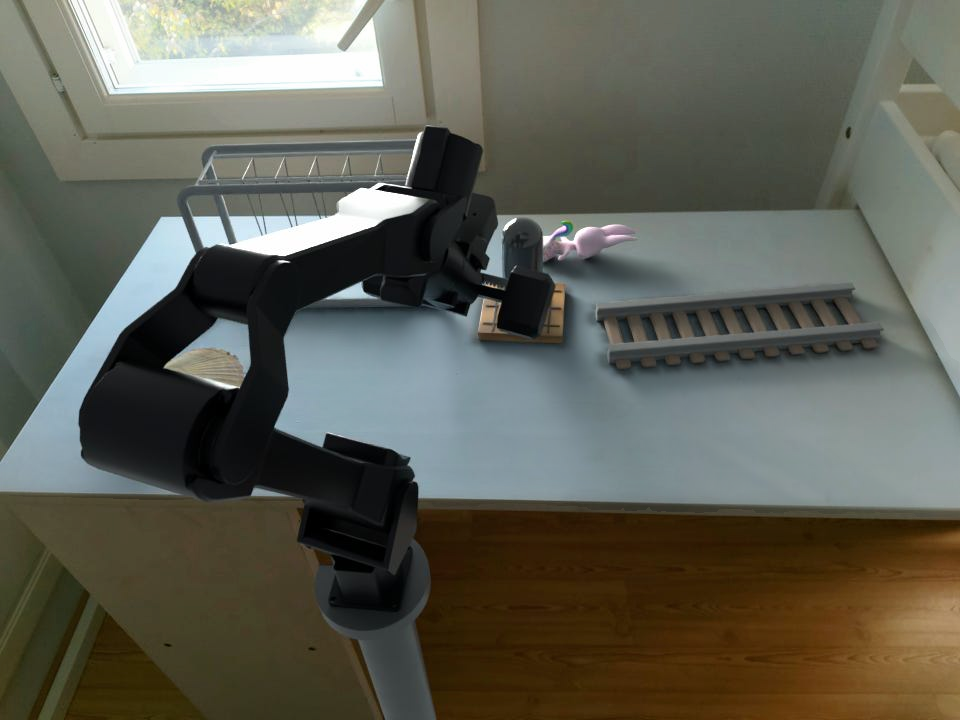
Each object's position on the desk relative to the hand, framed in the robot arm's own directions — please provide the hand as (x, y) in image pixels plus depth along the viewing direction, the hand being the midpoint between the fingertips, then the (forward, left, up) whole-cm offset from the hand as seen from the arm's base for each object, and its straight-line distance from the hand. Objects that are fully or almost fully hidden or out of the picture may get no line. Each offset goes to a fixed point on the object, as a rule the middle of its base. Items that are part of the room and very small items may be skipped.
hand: (477, 303), depth 81 cm
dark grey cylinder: (+9, -4, -7) cm, 12 cm away
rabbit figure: (+21, -11, -9) cm, 26 cm away
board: (+9, -4, -9) cm, 13 cm away
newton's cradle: (+13, +21, -9) cm, 26 cm away
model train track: (+8, -29, -9) cm, 31 cm away
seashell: (-8, +32, -9) cm, 34 cm away
